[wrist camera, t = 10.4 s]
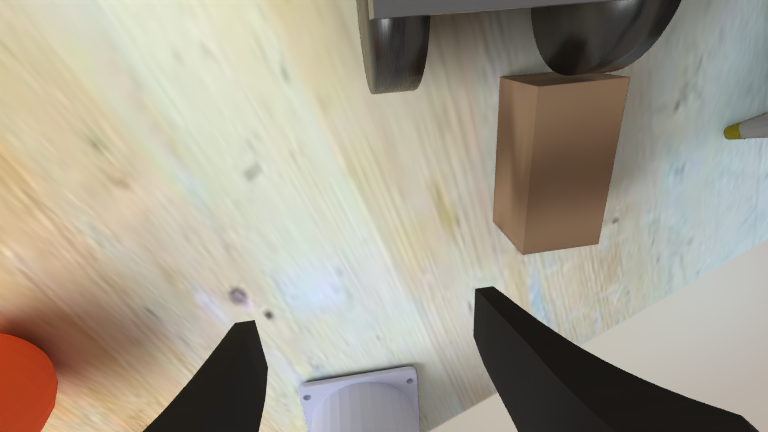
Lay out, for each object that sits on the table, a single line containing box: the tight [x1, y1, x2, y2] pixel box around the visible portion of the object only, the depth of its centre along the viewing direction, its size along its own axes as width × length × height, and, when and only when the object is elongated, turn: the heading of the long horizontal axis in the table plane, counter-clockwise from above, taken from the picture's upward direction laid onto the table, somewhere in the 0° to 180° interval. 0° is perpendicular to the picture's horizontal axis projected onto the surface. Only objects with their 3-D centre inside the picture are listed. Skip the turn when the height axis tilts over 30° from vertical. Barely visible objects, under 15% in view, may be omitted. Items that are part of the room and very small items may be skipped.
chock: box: [493, 72, 630, 255], centre depth 19 cm, size 8×4×4 cm, turn 5°
